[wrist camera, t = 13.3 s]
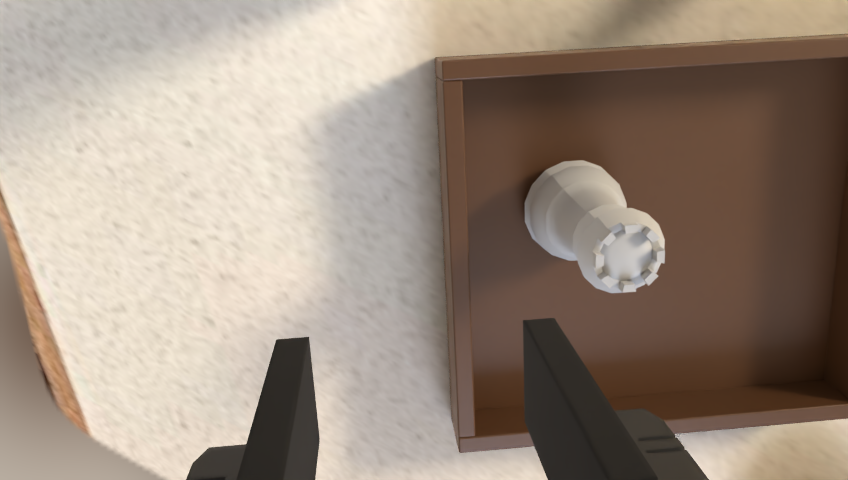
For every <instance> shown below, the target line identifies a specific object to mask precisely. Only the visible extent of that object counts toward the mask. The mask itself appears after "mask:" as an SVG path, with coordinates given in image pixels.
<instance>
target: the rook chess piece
mask: <svg viewBox="0 0 848 480" xmlns="http://www.w3.org/2000/svg"><path fill="white" fill-rule="evenodd" d="M525 223H526V225H527V228H528V230H529V232H530V234H531V237H532V239H534V240H535V241H536V242H537V243H538V244H539V245H540V246H541V247H543V248H544V249H545V250H546V251H548V252H549V253H550V254H551V255H553V256H557V257H560V258H563V259H566V260H569V261H576V260H578V264H579V267H580V269H581V271H582V274H583V276H584V278H585V279H586V280H588V281H589V282H590V283H591V284H592V285H593V286H594V287H595V288H597V289H600V290H603V291H606V292H609V293H625V292H636V288H638V287H641V286H643V285H645V284H647V285H648V286H649V285H650V284H651V283H652V282H653V281H654V280H655V279H656V278H657V277H658V275H657V274H656V273H657V271H658V269H659V266H660V264H661V263H665V250H664V246H665V239H664V236H663V234H662V231H661V229H660V226H659V224H658V223H657V222H656V221H655V220H654V219H653V218H652V217H651V216H649V215H648V214H647V213H645V212H642V211H639V210H636V209H634V208H627V203H626V200H625V198H624V195H623V193H622V190H621V188H620V185H619V184H618V183H617V182H616V181H615V180H614V179H613V178H612V177H611V176H610V175H609V174H608V173H607V172H606V171H605V170H604V169H603V168H602V167H601V166H598V165H595V164H592V163H589V162H587V161H584V160H578V161H563V162H561V163H559V164H557V165H555V166H553V167H551V168H549V169H547V170H545V171H544V172H543V173H542V174H541V175H540V176H539V178H538V179H537V180H536V181H535V182H534V183H533V184H532V186H531V188H530V191H529V193H528V196H527V198H526V201H525Z"/></svg>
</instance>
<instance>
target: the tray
mask: <svg viewBox="0 0 848 480" xmlns="http://www.w3.org/2000/svg"><path fill="white" fill-rule="evenodd" d="M435 75H436V97H437V118H438V139H439V160H440V181H441V203H442V224H443V245H444V266H445V288H446V309H447V330H448V351H449V372H450V394H451V415H452V423H453V427H454V431H455V436H456V440H457V445H458V449H459V452H460V453H464V452H475V451H486V450H497V449H509V448H520V447H531V446H534V444H533V441H532V439H531V436H530V434H529V431H528V429H527V426H526V424H525V415H524V354H523V320H532V319H545V318H555V320H556V321H557V323H558V324H559V326H560V328H561V329H562V331H563V332H564V334H565V335H566V337H567V338H568V340H569V341H570V343H571V345H572V346H573V348H574V349H575V351H576V352H577V354H578V355H579V357H580V358H581V360H582V361H583V363H584V365H585V366H586V368H587V369H588V371H589V372H590V374H591V375H592V377H593V378H594V380H595V381H596V383H597V385H598V386H599V388H600V389H601V391H602V392H603V394H604V395H605V397H606V398H607V400H608V402H609V403H610V405H611V406H612V408H613V409H614V411H617V410H628V409H640V408H644V409H646V410H648V411H649V412H651V413H653V414H654V415H656V416H658V417H659V418H661V419H662V420H664V421H665V423H666V424H667V425H668V427H669V428H670V429H671V431H672V432H673V433H674V434H677V433H689V432H700V431H711V430H722V429H734V428H745V427H756V426H768V425H779V424H790V423H801V422H813V421H824V420H835V419H846V418H848V34H836V35H819V36H802V37H784V38H767V39H749V40H732V41H714V42H697V43H680V44H662V45H645V46H627V47H610V48H593V49H575V50H558V51H540V52H523V53H505V54H488V55H471V56H453V57H436V58H435ZM578 160H584V161H587V162H589V163H592V164H595V165H598V166H601V167H602V168H603V169H604V170H605V171H606V172H607V173H608V174H609V175H610V176H611V177H612V178H613V179H614V180H615V181H616V182H617V183H618V184H619V185H620V188H621V190H622V193H623V195H624V198H625V200H626V203H627V208H634V209H636V210H639V211H642V212H645V213H647V214H648V215H649V216H651V217H652V218H653V219H654V220H655V221H656V222H657V223H658V224H659V226H660V229H661V231H662V234H663V236H664V239H665V246H664V250H665V263H661V264H660V266H659V269H658V271H657V273H656V274H657V275H658V277H657V278H656V279H655V280H654V281H653V282H652V283H651V284H650V285H649V286H648V285H647V284H645V285H643V286H641V287H638V288H636V292H625V293H609V292H606V291H603V290H600V289H597V288H595V287H594V286H593V285H592V284H591V283H590V282H589V281H588V280H586V279H585V278H584V276H583V274H582V271H581V269H580V267H579V264H578V260H576V261H569V260H566V259H563V258H560V257H557V256H553V255H551V254H550V253H549V252H548V251H546V250H545V249H544V248H543V247H541V246H540V245H539V244H538V243H537V242H536V241H535V240H534V239H532V237H531V234H530V232H529V230H528V228H527V225H526V223H525V201H526V198H527V196H528V193H529V191H530V188H531V186H532V184H533V183H534V182H535V181H536V180H537V179H538V178H539V176H540V175H541V174H542V173H543V172H544V171H545V170H547V169H549V168H551V167H553V166H555V165H557V164H559V163H561V162H563V161H578Z"/></svg>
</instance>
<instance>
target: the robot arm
mask: <svg viewBox="0 0 848 480" xmlns="http://www.w3.org/2000/svg"><path fill="white" fill-rule="evenodd" d="M523 354H524V415H525V424H526V426H527V429H528V431H529V434H530V436H531V439H532V441H533V444H534V446H535V449H536V451H537V453H538V456H539V458H540V461H541V463H542V466H543V468H544V471H545V473H546V476H547V478H548V480H709V479H708V478H707V477H706V475H705V474H704V473H703V471H702V470H701V469H700V467H699V466H698V465H697V463H696V462H695V461H694V460H693V458H692V457H691V456H690V454H689V453H688V452H687V450H684V446H683V445H682V444H681V442H680V441H679V440H678V438H675V435H674V433H673V432H672V431H671V429H670V428H669V427H668V425H667V424H666V423H665V421H664V420H662V419H661V418H659V417H658V416H656V415H654V414H653V413H651V412H649V411H648V410H646V409H644V408H640V409H628V410H617V411H614V409H613V408H612V406H611V405H610V403H609V402H608V400H607V398H606V397H605V395H604V394H603V392H602V391H601V389H600V388H599V386H598V385H597V383H596V381H595V380H594V378H593V377H592V375H591V374H590V372H589V371H588V369H587V368H586V366H585V365H584V363H583V361H582V360H581V358H580V357H579V355H578V354H577V352H576V351H575V349H574V348H573V346H572V345H571V343H570V341H569V340H568V338H567V337H566V335H565V334H564V332H563V331H562V329H561V328H560V326H559V324H558V323H557V321H556V320H555V318H545V319H532V320H523ZM318 448H319V430H318V420H317V410H316V401H315V391H314V382H313V372H312V363H311V353H310V343H309V337H304V338H291V339H278V340H276V343H275V346H274V350H273V353H272V357H271V360H270V364H269V367H268V371H267V374H266V378H265V381H264V385H263V388H262V392H261V395H260V399H259V402H258V406H257V409H256V413H255V416H254V420H253V423H252V427H251V430H250V434H249V437H248V441H247V444H246V445H234V446H223V447H211V448H208V449H207V450H206V451H205V452H204V453H203V454H202V455H201V456H200V457H199V458H198V459H197V460H196V461H195V462H194V463H193V464H192V466H191V469H190V471H189V474H188V476H187V479H186V480H315V475H316V466H317V457H318Z"/></svg>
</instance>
